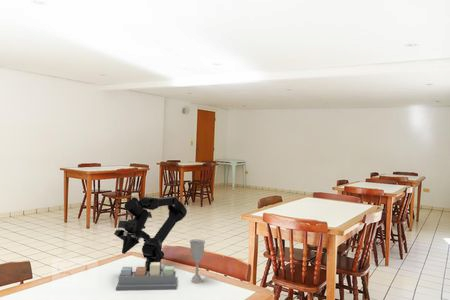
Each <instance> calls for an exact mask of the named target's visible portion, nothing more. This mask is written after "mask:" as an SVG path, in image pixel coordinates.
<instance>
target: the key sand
mask: <svg viewBox="0 0 450 300" xmlns="http://www.w3.org/2000/svg"><path fill="white" fill-rule="evenodd" d="M150 276H160V262H151V264H150Z"/></svg>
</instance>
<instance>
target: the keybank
mask: <svg viewBox="0 0 450 300" xmlns="http://www.w3.org/2000/svg"><path fill="white" fill-rule="evenodd" d="M176 273H177V271H176V270H174V275H168V276H164V270H162V271H160V276H150V271H149V272H147V271H146V276H136V271H132V276H121V273H119V275H118V283H117V284H116V286H115V291H152V290H153V291H157V290H162V291H163V290H167V291H168V290H177V289H178V276H176V275H177V274H176Z"/></svg>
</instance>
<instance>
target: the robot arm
mask: <svg viewBox="0 0 450 300" xmlns="http://www.w3.org/2000/svg"><path fill="white" fill-rule="evenodd" d="M164 206H165V207H166V206H167V209H168V217H167V218H166V219H165V221H164V223H163V224H162V226H161V227H160V228H159V229H158V231H157V232H156V233H155V235H154V236H153V237H151V236H150V234H149V233H147V232H145V229H146V223H147V221H148V219H149V218H151V219H152V218H153V216H152V212H151V211H154V210H157V209H158V208H159V207H164ZM124 209H125V210H126V211H127V212H128V213H129V214H130V215H131V216H132V217H133V219H132V218H129V219H128V220H118V225H117V229H116V230H115V231H114V235H115V236H116V237H117V238H119V239H120V240H121V241H122V249H121V253H122V254H124V255H125V254H126V253H128V251H130V250H131V249H132V248H133V247H135V246H137V245H138V244H140V240H141V239H143V245H142V247H141V252H142V255H143V258H145V259H146V260H145V266H144V267H146V272H149V271H150V264H151V262H160V271H163V269H162V260H163V259H164V257H165V252H164V251H162V249H163V243H164V241H165V240H166V239H167V237H168V235H169V234H170V232H171V231H172V229H173V228H174V227H175V226H176V224H177V223H178V222H180V221H182V220H183V219H184V218H185V217H186V216H187V212H188V210H187V208H186V206H185V205H184V203H182V202H181V201H180V200H179V199H178V197H176V196H166V197H165V196H163V197H151V196H142V197H141V199H138V198H137V197H135V196H133V197H132V198H131V199H129V200H127V202H125V203H124ZM149 210H150V211H149Z"/></svg>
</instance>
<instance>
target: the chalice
mask: <svg viewBox="0 0 450 300" xmlns="http://www.w3.org/2000/svg"><path fill="white" fill-rule="evenodd" d="M188 242H189V243H190V255H191V257H192V260H193V261H194V262H195V270H194V271H195V275H193V276H192V279H191V280H190V282H191V283H193V284H200V283H202V282H203V279H202V276H201V275H200V274H199V271H200V270H199V266H200V265H199V262H201V261H202V259H203V256H204V254H205V243H206V240H204V239H201V238H197V239H195V238H194V239H190V240H189V241H188Z"/></svg>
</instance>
